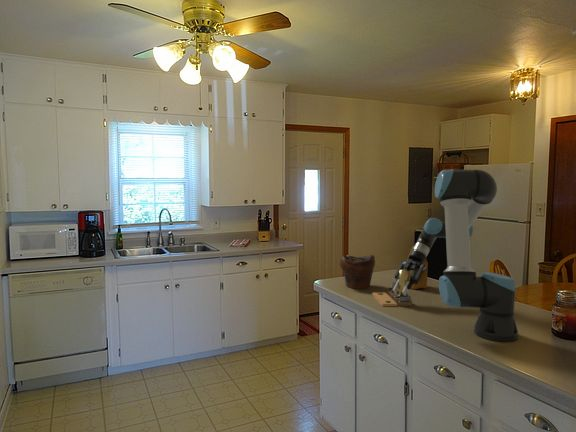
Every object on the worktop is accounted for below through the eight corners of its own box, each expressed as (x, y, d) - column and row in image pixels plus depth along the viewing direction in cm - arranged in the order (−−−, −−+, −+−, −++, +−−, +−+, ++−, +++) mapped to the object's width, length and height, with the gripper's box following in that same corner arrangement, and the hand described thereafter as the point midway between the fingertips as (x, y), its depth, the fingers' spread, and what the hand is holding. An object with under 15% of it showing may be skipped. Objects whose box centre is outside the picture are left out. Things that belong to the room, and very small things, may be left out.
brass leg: (410, 300, 199) (411, 271, 198) (395, 301, 199) (395, 271, 198) (406, 297, 205) (407, 268, 204) (391, 297, 205) (392, 268, 204)
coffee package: (418, 283, 242) (419, 245, 240) (429, 289, 230) (430, 249, 228) (401, 284, 240) (403, 246, 239) (412, 290, 228) (413, 249, 226)
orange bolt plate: (397, 306, 198) (397, 303, 198) (382, 306, 198) (382, 303, 198) (385, 294, 218) (385, 292, 218) (372, 294, 218) (372, 292, 218)
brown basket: (333, 283, 240) (334, 252, 238) (362, 280, 248) (363, 250, 246) (350, 292, 224) (351, 258, 222) (381, 288, 232) (382, 256, 230)
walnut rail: (411, 306, 199) (412, 291, 198) (395, 306, 198) (395, 291, 198) (399, 294, 219) (399, 281, 218) (384, 294, 218) (384, 281, 218)
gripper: (437, 261, 205) (418, 301, 195) (406, 256, 217) (386, 293, 208) (432, 251, 201) (412, 292, 191) (400, 247, 213) (380, 284, 204)
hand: (398, 292), depth 199 cm, fingers closed on brass leg, 4 cm apart
